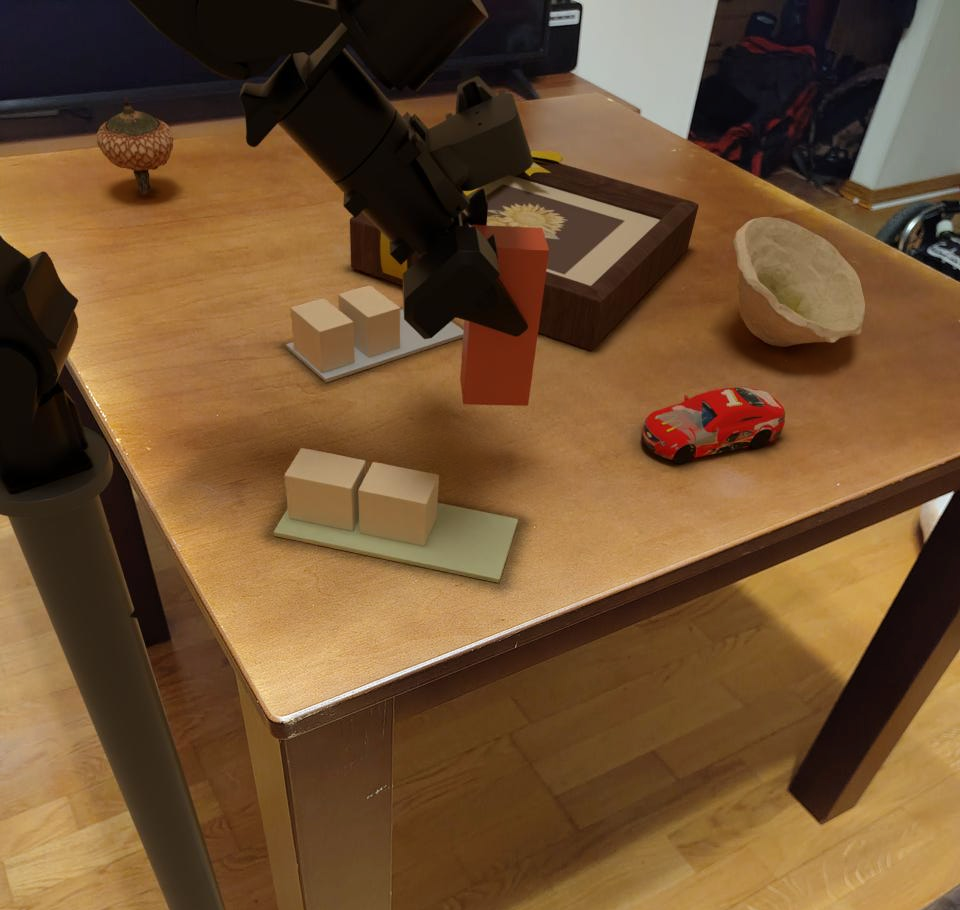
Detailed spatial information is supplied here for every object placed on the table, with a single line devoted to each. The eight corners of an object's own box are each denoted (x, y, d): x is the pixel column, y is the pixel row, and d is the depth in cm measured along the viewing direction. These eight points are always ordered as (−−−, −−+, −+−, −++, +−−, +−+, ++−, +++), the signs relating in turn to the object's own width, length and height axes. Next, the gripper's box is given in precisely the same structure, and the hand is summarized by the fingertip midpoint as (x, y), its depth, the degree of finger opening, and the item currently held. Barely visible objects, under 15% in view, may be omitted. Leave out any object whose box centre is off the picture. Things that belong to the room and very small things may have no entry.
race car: (657, 470, 74) (668, 430, 71) (627, 434, 78) (636, 393, 75) (788, 445, 78) (803, 406, 75) (754, 411, 81) (768, 372, 78)
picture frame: (345, 206, 89) (487, 126, 107) (347, 271, 94) (482, 183, 112) (601, 290, 81) (706, 188, 100) (589, 355, 86) (691, 246, 105)
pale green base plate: (273, 535, 65) (267, 488, 62) (307, 479, 70) (303, 432, 67) (499, 583, 64) (505, 536, 60) (517, 522, 68) (524, 476, 65)
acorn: (149, 174, 107) (132, 79, 100) (198, 194, 104) (183, 98, 97) (93, 193, 102) (70, 95, 95) (142, 214, 99) (122, 116, 92)
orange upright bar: (463, 404, 67) (474, 246, 59) (460, 379, 70) (470, 224, 61) (528, 406, 68) (549, 249, 59) (523, 381, 70) (542, 227, 61)
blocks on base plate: (325, 382, 79) (323, 337, 76) (286, 348, 83) (281, 303, 80) (467, 336, 87) (470, 293, 84) (425, 305, 90) (426, 263, 87)
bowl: (805, 394, 84) (845, 292, 77) (682, 336, 90) (708, 236, 83) (875, 342, 92) (917, 245, 85) (758, 291, 98) (788, 197, 91)
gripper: (473, 98, 45) (638, 310, 55) (451, 2, 58) (589, 188, 67) (324, 246, 50) (499, 417, 60) (334, 128, 63) (477, 285, 72)
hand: (520, 318), depth 64 cm, fingers closed on orange upright bar, 3 cm apart
